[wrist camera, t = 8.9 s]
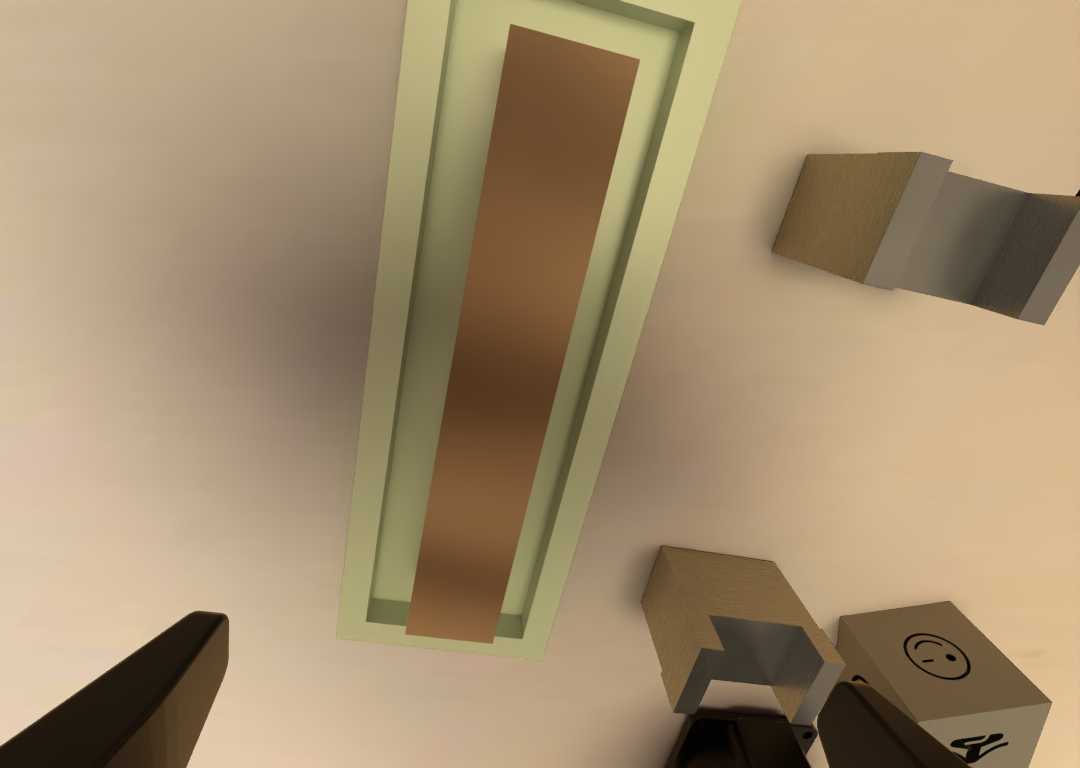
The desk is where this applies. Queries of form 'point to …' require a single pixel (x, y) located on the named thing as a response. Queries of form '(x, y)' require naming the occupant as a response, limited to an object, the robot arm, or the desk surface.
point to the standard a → (736, 632)
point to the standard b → (933, 232)
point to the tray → (440, 275)
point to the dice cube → (946, 681)
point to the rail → (516, 319)
